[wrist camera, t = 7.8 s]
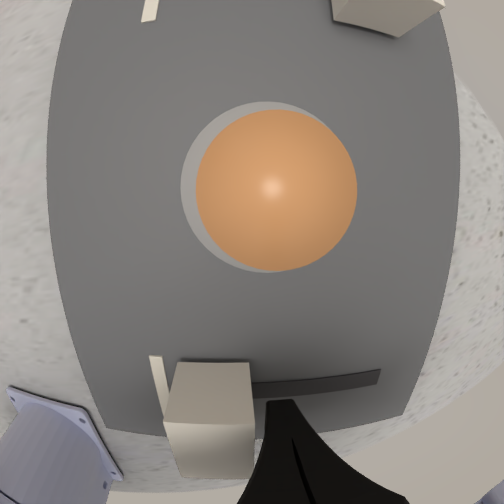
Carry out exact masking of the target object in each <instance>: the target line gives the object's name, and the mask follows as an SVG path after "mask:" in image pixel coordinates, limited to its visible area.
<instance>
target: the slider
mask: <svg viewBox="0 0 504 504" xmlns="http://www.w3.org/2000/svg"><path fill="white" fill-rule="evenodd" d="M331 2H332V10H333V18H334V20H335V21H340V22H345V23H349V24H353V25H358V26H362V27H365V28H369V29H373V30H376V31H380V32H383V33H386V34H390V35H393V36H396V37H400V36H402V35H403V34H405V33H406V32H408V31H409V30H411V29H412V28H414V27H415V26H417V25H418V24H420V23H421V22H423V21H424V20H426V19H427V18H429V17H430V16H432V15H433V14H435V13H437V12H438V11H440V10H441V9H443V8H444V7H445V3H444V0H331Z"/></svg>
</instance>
